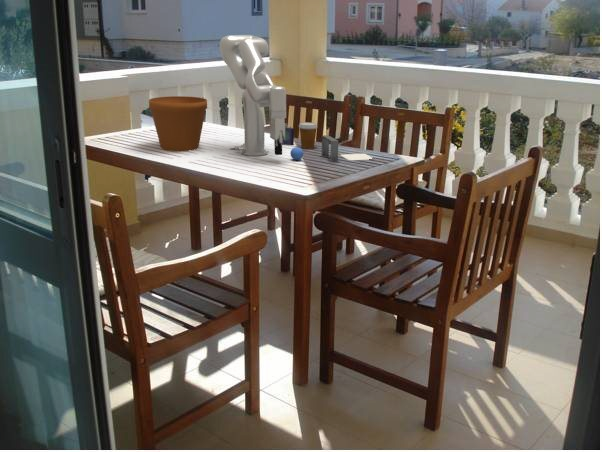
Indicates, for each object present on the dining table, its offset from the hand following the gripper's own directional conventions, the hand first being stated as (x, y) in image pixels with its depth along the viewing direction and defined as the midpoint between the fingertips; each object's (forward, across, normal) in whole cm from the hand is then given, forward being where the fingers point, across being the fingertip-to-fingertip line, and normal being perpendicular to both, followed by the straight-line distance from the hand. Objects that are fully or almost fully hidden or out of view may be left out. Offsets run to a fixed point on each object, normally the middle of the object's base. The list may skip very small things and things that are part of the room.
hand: (278, 154), depth 318 cm
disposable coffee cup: (+3, -29, +23) cm, 37 cm away
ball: (0, -1, +9) cm, 9 cm away
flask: (+2, -39, +14) cm, 42 cm away
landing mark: (+4, -1, +39) cm, 39 cm away
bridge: (+3, -1, +25) cm, 25 cm away
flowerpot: (+1, -41, -40) cm, 57 cm away
